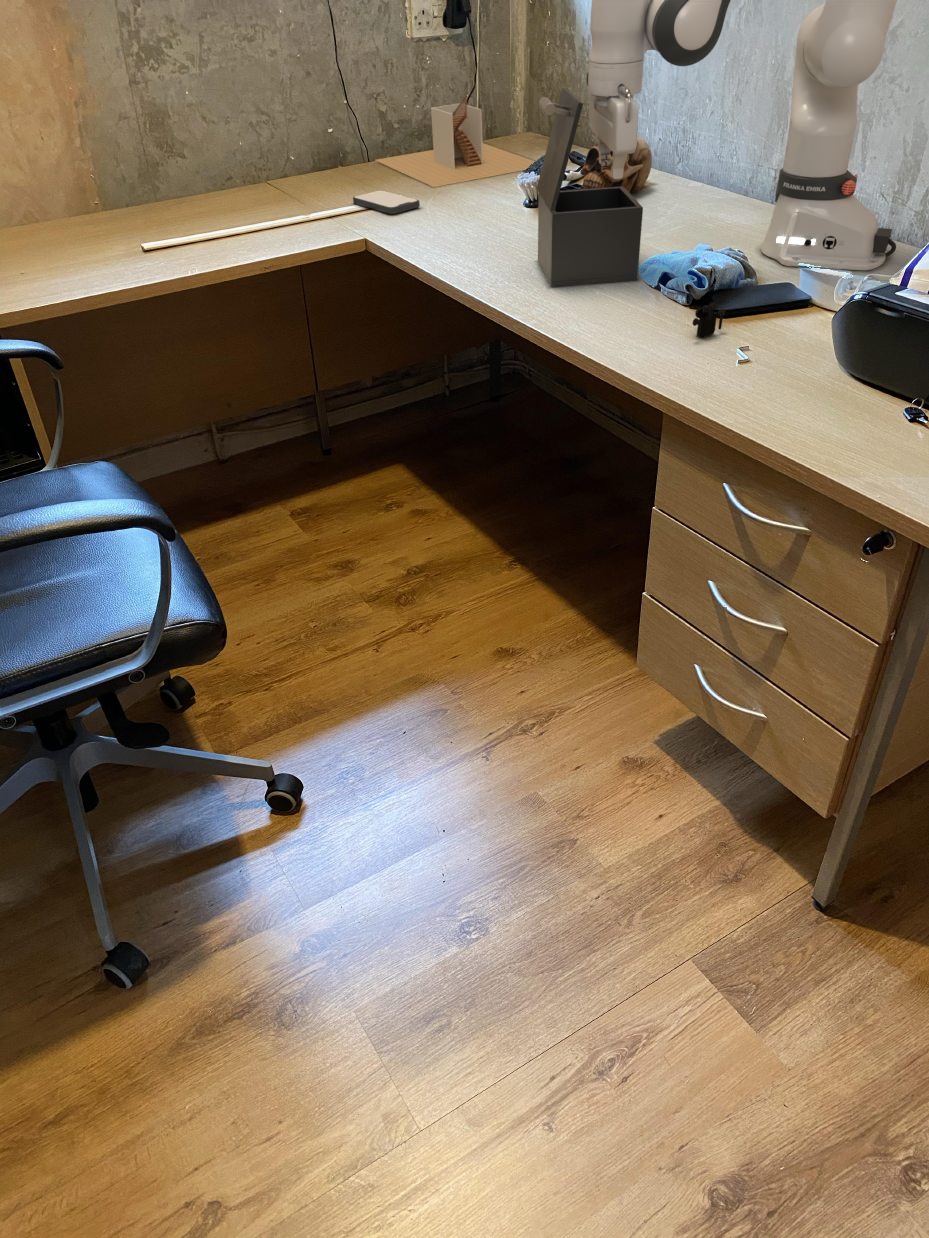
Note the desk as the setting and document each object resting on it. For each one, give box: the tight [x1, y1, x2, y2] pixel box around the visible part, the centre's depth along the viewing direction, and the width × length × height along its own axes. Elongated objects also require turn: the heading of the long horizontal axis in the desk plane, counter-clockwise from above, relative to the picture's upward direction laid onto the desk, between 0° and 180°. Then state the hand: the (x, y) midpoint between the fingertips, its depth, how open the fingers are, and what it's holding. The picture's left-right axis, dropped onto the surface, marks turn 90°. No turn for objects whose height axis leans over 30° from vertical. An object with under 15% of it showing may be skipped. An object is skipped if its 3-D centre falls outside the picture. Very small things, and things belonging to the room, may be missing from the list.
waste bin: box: [537, 186, 644, 288], centre depth 164 cm, size 16×14×12 cm
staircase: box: [430, 92, 485, 170], centre depth 232 cm, size 9×11×17 cm
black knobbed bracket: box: [692, 302, 726, 339], centre depth 141 cm, size 7×2×5 cm, turn 125°
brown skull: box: [579, 135, 653, 194], centre depth 204 cm, size 16×17×13 cm
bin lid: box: [536, 87, 584, 212], centre depth 154 cm, size 17×14×5 cm
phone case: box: [352, 190, 421, 215], centre depth 208 cm, size 9×2×16 cm
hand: (610, 171), depth 158 cm, fingers open, 8 cm apart
